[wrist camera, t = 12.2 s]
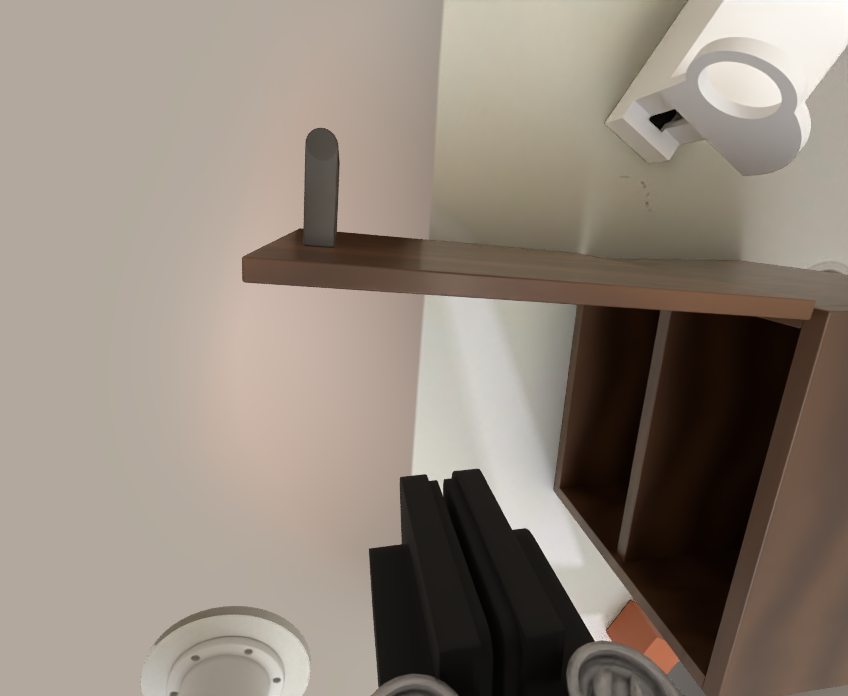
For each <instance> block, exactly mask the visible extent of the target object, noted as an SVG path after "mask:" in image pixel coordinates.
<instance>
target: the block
mask: <svg viewBox="0 0 848 696" xmlns="http://www.w3.org/2000/svg"><path fill="white" fill-rule="evenodd" d="M606 632H607V634H608V635H609V637H610V639H611V640H612V642H618V643H620V644H623V645H626V646H629V647H631V648H634V649H636V650H637V651H639V652H640V653H642V654H644V655H645V656H647V657H648V658H650V659H651V660H652V661H653V662H654V663H655V664H656V665H657V666H659V667H660V668H661V669H662V670H663V671H664V672H665V673H666V674H668V672H669V671H670V670H671V669H672V668H673V667H674V665H675V664H676V663H677V662H678V661H679V659H678V657H677V656H676V654H675V653H674V652H673V650H672V649H671V648H670V646H669V645H668V644H667V642H666V641H665V640H664V638H663V637H662V636H661V634H660V633H659V632H658V630H657V629H656V628H655V626H654V625H653V624H652V622H651V621H650V620H649V618H648V617H647V615H646V614H645V613H644V611H643V610H642V609H641V607H640V606H639V605H638V604H637V603H635V602H633V601H629V603H628V604H627V605H626V606H625V608H624V609H623V610H622V612H621V613H620V614H619V615H618V617H617V618H616V619H615V620H614V622H613V623H612V624H611V625H610V627H609V628H608V629H607V630H606Z"/></svg>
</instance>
